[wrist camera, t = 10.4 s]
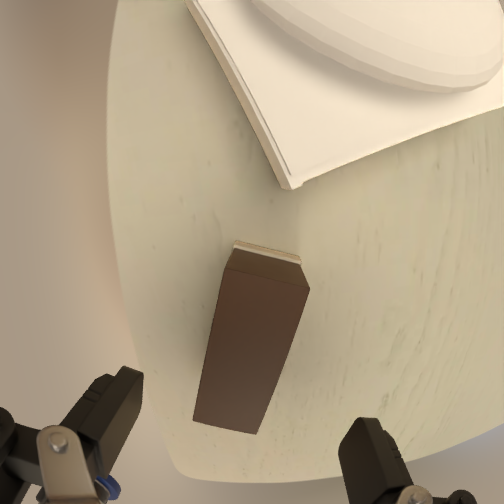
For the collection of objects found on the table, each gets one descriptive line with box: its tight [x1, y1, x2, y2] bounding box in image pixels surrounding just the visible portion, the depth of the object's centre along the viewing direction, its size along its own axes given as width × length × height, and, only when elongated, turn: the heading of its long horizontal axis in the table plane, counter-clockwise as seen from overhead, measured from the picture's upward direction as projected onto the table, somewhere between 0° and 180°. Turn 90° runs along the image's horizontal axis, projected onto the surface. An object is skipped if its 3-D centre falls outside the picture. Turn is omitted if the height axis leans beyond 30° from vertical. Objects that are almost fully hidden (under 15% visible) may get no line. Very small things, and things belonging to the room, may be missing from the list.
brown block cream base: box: [193, 241, 310, 434], centre depth 20 cm, size 12×5×6 cm, turn 166°
